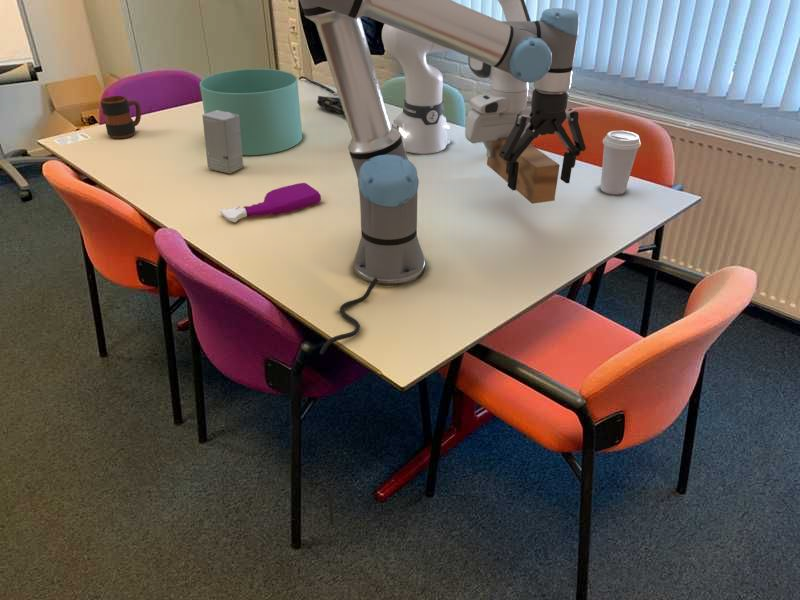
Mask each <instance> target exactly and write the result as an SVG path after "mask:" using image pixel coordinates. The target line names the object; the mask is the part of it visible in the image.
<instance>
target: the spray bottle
mask: <svg viewBox="0 0 800 600" xmlns="http://www.w3.org/2000/svg"><path fill="white" fill-rule="evenodd" d="M321 201H322V197H321V194H320V192H319V191H318V190H317V189H315V188H314V187H312V186H311V185H310V184H308V183H307V182H300V183H299V182H298V183H293V184H291V185H286V186H282V187H278V188H275V189H272V190H270V191H269V192H267V193H266V194H265V195H264V199H263V201H262V202H258V203H257V204H255V203H254V204H252V205H245V206H243V208H240V205H237V206H235V207H233V208H222V207H221V208H219V212H220V214H221V215H222V216H223V217H224V218H225V219H226V220H227V221H230V222H232V223H235V224H236V222H237V221H238V220H240V219H243V218H247V217H248V218H249V217H259V216H260V217H261V216H270V215H272V216H278V215H282V214H288V213H292V212H296V211H299V210H302V209H306V208H308V207H312V206H315V205H318V204H320V202H321Z"/></svg>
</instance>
